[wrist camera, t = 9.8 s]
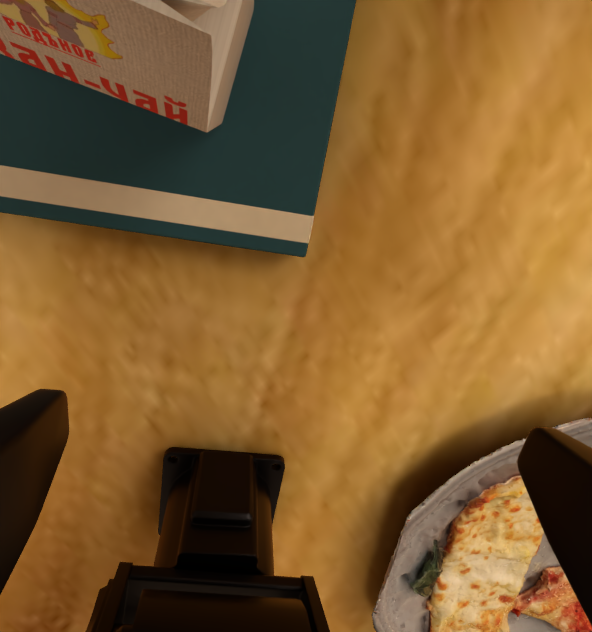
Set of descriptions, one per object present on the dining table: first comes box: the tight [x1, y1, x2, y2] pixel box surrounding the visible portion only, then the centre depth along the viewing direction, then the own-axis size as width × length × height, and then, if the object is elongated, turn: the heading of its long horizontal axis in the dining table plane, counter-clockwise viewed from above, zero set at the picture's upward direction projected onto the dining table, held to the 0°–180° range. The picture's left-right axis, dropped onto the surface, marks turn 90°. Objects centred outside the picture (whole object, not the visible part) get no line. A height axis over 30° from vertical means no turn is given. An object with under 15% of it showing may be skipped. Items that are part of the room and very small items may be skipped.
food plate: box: [372, 418, 592, 632], centre depth 29 cm, size 25×23×4 cm
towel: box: [0, 0, 356, 257], centre depth 15 cm, size 14×14×1 cm
